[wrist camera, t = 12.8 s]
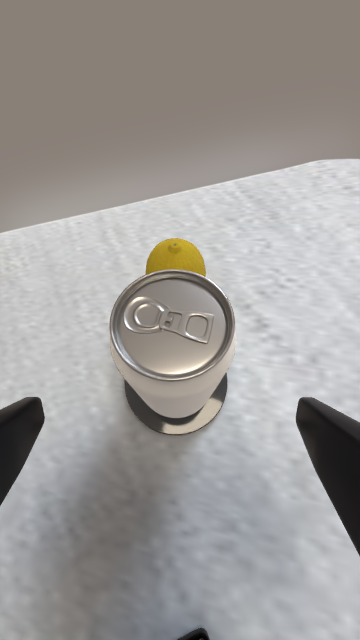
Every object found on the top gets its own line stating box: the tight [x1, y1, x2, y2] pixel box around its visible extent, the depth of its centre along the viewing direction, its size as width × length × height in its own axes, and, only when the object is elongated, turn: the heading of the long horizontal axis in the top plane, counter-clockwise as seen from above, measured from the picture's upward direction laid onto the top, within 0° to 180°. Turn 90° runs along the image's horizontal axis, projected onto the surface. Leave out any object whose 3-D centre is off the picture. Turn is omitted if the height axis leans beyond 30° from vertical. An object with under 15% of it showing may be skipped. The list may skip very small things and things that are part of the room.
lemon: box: [146, 238, 206, 277], centre depth 22 cm, size 6×6×8 cm
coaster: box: [125, 373, 227, 435], centre depth 22 cm, size 9×9×1 cm
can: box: [110, 269, 236, 418], centre depth 16 cm, size 6×6×12 cm
